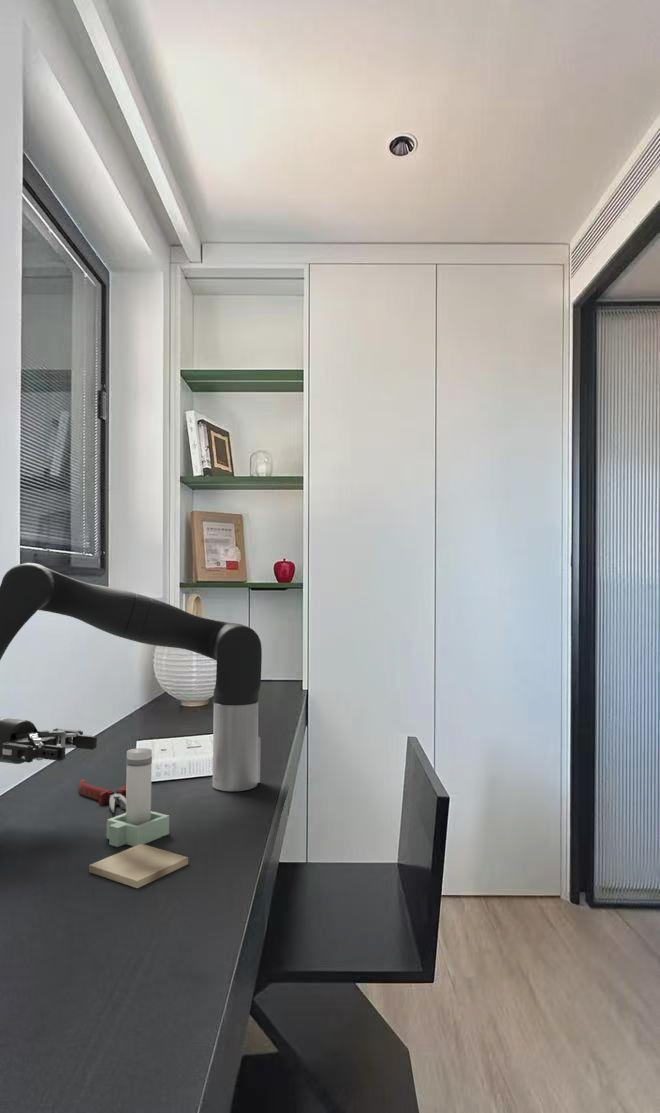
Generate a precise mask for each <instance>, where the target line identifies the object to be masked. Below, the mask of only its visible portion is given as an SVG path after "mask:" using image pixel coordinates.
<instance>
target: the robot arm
mask: <svg viewBox="0 0 660 1113" xmlns="http://www.w3.org/2000/svg"><path fill="white" fill-rule="evenodd" d="M38 611H43V612H48V613H54V614H58V615H63V616H67V617H71V618H74V619H77V620H79V621H81V622H83V623H86V624H88V625H89V626H92V627H94V628H96V629H98V630H100V631H103V632H105V633H107V634H110V635H113V636H116V637H119V638H122V639H125V640H130V641H131V642H132V641H133V642H137V643H139V644H140V643H141V644H145V645H150V646H156V647H163V648H174V649H180V650H181V649H182V650H187V651H191V652H194V653H196V654H199V655H202V656H204V657H207V658H209V659H212V660H215V661H216V670H215V671H216V672H215V674H216V675H215V677H216V678H215V685H214V689H213V716H212V717H213V720H212V721H213V725H212V726H213V727H212V728H213V729H212V730H213V733H212V734H213V735H212V739H213V740H212V788H213V789H216V790H218V791H221V792H243V791H244V792H245V791H249V790H252V789H254V788H256V787H257V786H258V784H259V783H260V782H261V740H262V739H261V737H260V736H259V694H260V689H261V686H262V685H261V683H262V664H263V663H262V660H263V658H262V657H263V654H262V652H263V648H262V642H261V639H260V636H259V635H258V634H257V632H256V631H255V630H254V629H252V628H251V627H249V626H247V625H244V624H242V623H235V622H227V621H220V620H216V619H211V618H205V617H201V616H197V615H196V614H192V613H191V612H187V611H186V610H183V609H181V608H179V607H177V606H175V605H171V604H169V603H166V602H164V601H161V600H159V599H156V598H153V597H150V596H147V595H143V594H140V593H136V592H132V591H127V590H123V589H120V588H114V587H109V586H105V585H100V584H93V583H89V582H84V581H82V580H78V579H75V578H72V577H69V576H68V575H65V574H62V573H60V572H58V571H56V570H52V569H50V568H48V567H46V566H45V565H42V564H40V563H37V562H36V563H34V562H24V563H19V564H17V565H15V566H12V567H11V568H10V569H9V570H8V571H7V572H6V573H5V574H4V576H3V577H2V581H1V583H0V661H1V660H2V658H3V656H4V654H5V652H6V651H7V649H8V648H9V646H10V644H11V643H12V641H13V640H14V638H15V637H16V636H17V635H18V633H19V632H20V630H21V629H22V628H23V627H24V626H25V625H26V623H27V622H29V620H30V619H31V618H32V617H33V616H34V615H35V614H36V613H37V612H38ZM97 742H98V738H97V736H95V735H86V734H85V735H84V731H83V730H80V729H79V730H77V729H65V728H64V729H63V728H56V727H55V728H53V729H52V730H51V731H50V730H48V729H43V730H42V729H41V730H38V729H37V726H36V725H35V724H34V723H33V722H32V721H31V720H27V719H20V718H19V719H17V718H5V717H0V763H3V764H4V763H5V764H12V765H20V764H24V763H32V762H33V761H43V760H50V761H59V762H60V761H64V760H65V758H66V749H83V750H94V749H97V747H98V746H97Z"/></svg>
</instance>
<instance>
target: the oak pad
mask: <svg viewBox="0 0 660 1113" xmlns="http://www.w3.org/2000/svg"><path fill="white" fill-rule="evenodd" d="M187 865H189V857H188V856H185V855H182V854H179V853H175V852H171V851H169V850H164V849H161V848H157V847H155V846H151V845H147V844H139V845H137V846H131V847H130V848H127V849H124V850H121V851H119V852H118V853H115V854H113V855H110V856H107V857H105V858H103V859H100V860H98V861H96V862H93V863H91V864H89V865H88V869H89V870H88V872H89V873H91V874H93V875H97V876H99V877H100V876H101V877H103V878H106V879H109V880H110V881H111V880H112V881H115V882H116V883H117V882H118V883H120V884H123V885H125V886H129V887H132V888H136V889H140V888H141V887H143V886H145V885H148V884H150V883H152V882H154V881H155V880H158V879H160V878H162V877H164V876H166V875H169V874H171V873H172V872H175V871H176V870H179V869H181V868H183V867H185V866H187Z"/></svg>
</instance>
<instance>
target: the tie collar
mask: <svg viewBox="0 0 660 1113" xmlns="http://www.w3.org/2000/svg"><path fill="white" fill-rule="evenodd" d="M105 833H106V837H105V838H106V839H107V840H109V842H108V845H110V846H112V847H116V848H119V847H121V846H124V845H129V846H131V847H134V846H137V845H139V844H144V845H147V844H148V843H150V842H153V841H155V840H159V839H161V838H162V836H163V837H165V836H168V835H169V834H170V815H168V814H165V813H160V812H157V811H152V810H151V821H148V822H146V823H143V824H141V825H138V826H137V825H133V824H129V823H126V812H124V813H122V814H119V815H116V816H114V817H111V818H107V819H106V832H105Z"/></svg>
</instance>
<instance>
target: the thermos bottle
mask: <svg viewBox="0 0 660 1113" xmlns="http://www.w3.org/2000/svg"><path fill="white" fill-rule="evenodd" d="M125 758H126V760H125V761H126V762H125V764H126V779H125V780H126V783H125V784H126V810H125V813H126V823H129V824H133V825H137V826H138V825H141V824H143V823H146V822H148V821H151V811H152V766H153V765H152V763H153V749H151V748H147V747H139V748H138V747H136V748H131V749H128V750H127V751H126V757H125Z"/></svg>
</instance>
